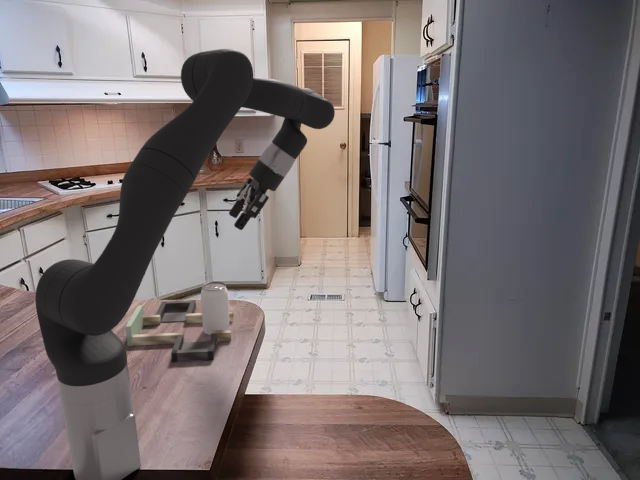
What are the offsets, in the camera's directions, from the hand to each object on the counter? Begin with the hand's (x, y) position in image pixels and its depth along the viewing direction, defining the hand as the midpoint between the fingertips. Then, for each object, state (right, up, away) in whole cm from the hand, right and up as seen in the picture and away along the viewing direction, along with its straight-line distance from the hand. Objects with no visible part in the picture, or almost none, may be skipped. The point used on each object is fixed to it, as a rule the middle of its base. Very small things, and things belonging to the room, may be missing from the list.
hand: (234, 221), depth 110 cm
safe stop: (-24, -27, +1) cm, 37 cm away
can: (-5, -27, +4) cm, 28 cm away
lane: (-12, -27, +3) cm, 30 cm away
